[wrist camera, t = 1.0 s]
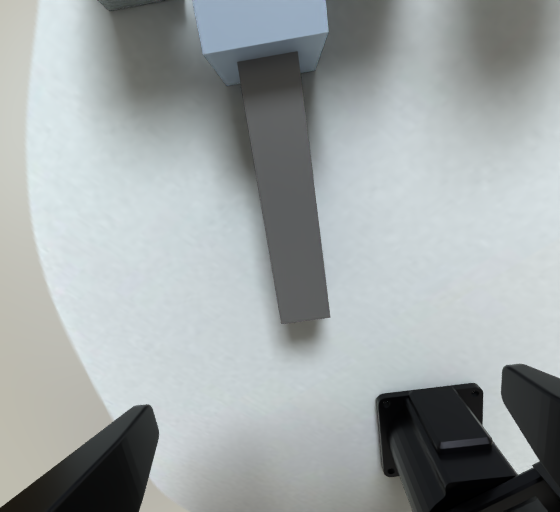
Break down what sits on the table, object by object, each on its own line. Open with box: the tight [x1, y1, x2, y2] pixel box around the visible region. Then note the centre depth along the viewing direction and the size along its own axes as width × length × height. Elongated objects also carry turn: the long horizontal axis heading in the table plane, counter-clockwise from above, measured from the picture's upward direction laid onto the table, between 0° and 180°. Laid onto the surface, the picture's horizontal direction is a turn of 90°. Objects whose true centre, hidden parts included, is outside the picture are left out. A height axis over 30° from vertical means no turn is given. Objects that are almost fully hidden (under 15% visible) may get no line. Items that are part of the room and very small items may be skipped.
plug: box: [192, 0, 330, 324], centre depth 15 cm, size 16×4×5 cm, turn 9°
